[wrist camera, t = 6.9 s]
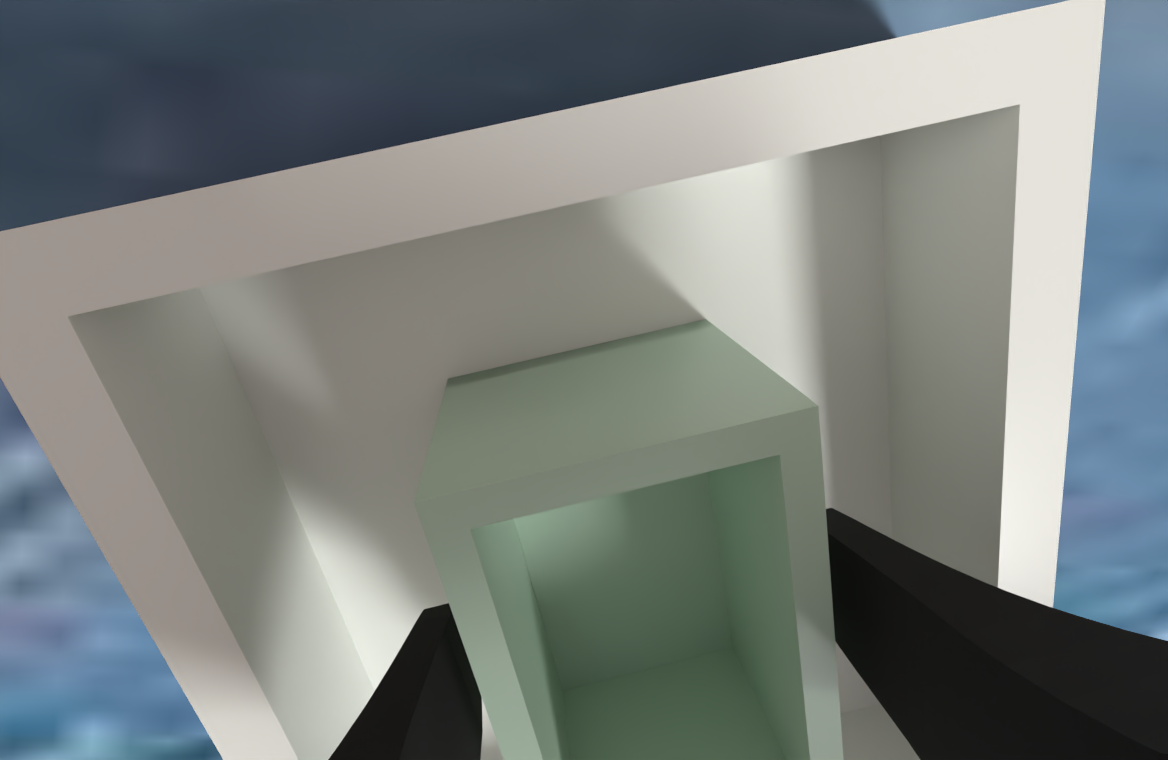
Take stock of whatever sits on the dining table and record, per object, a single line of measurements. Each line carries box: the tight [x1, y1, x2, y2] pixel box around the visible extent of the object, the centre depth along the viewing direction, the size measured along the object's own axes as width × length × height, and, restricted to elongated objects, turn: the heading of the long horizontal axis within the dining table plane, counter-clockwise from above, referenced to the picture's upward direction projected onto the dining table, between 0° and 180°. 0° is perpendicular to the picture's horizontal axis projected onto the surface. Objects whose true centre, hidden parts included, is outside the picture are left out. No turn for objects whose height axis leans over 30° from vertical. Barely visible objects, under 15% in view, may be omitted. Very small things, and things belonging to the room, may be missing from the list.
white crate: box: [0, 0, 1105, 760], centre depth 13 cm, size 18×16×4 cm
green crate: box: [414, 319, 844, 760], centre depth 12 cm, size 9×6×5 cm, turn 12°
